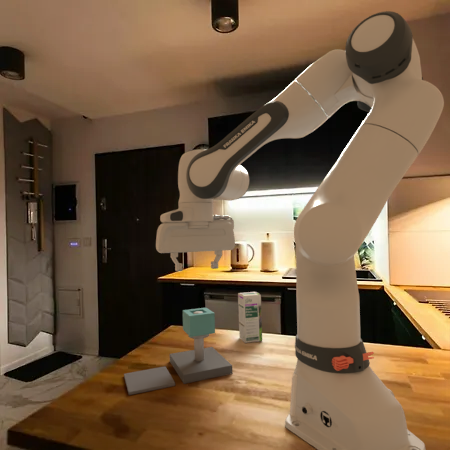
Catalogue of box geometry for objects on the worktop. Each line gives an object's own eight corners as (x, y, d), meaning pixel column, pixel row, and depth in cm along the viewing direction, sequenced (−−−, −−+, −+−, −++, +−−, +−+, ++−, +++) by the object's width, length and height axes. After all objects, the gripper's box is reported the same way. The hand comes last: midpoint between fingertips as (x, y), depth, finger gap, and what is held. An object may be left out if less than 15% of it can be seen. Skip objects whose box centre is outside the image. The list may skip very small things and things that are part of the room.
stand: (232, 373, 79) (231, 315, 79) (183, 383, 75) (182, 322, 75) (212, 353, 92) (211, 304, 92) (169, 361, 88) (168, 309, 88)
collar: (215, 333, 82) (214, 312, 82) (190, 337, 79) (189, 316, 79) (206, 326, 88) (206, 307, 88) (183, 329, 85) (182, 310, 85)
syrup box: (244, 343, 100) (243, 295, 100) (238, 337, 105) (237, 292, 106) (262, 341, 101) (261, 294, 102) (255, 335, 107) (254, 290, 107)
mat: (175, 385, 74) (175, 382, 74) (128, 395, 70) (128, 392, 70) (165, 368, 83) (165, 366, 83) (124, 376, 79) (124, 373, 79)
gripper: (228, 215, 91) (229, 266, 91) (154, 215, 83) (154, 270, 83) (238, 214, 85) (239, 268, 85) (159, 214, 77) (159, 273, 77)
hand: (197, 269), depth 84 cm, fingers open, 8 cm apart
